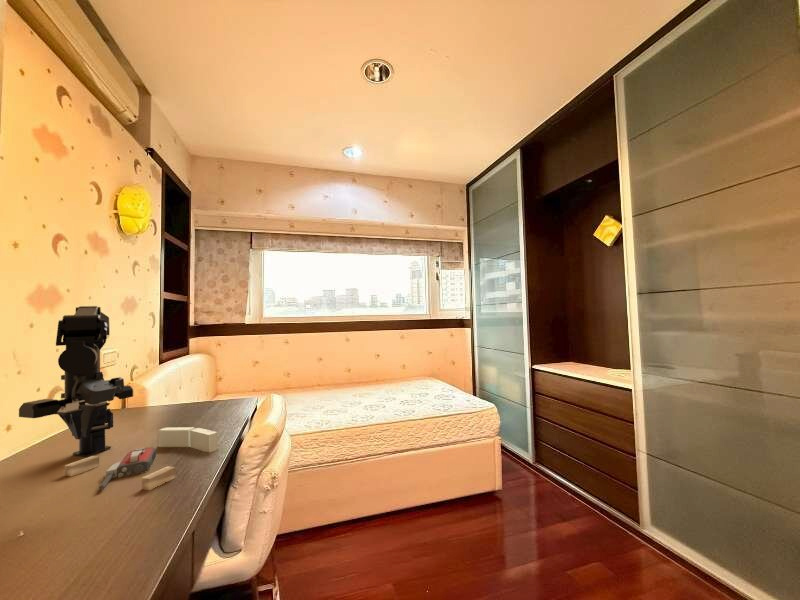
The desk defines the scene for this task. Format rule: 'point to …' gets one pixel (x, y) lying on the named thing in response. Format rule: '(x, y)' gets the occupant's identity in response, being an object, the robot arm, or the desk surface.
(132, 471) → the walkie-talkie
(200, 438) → the white long angled block
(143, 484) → the guide blocks
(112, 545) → the desk surface
